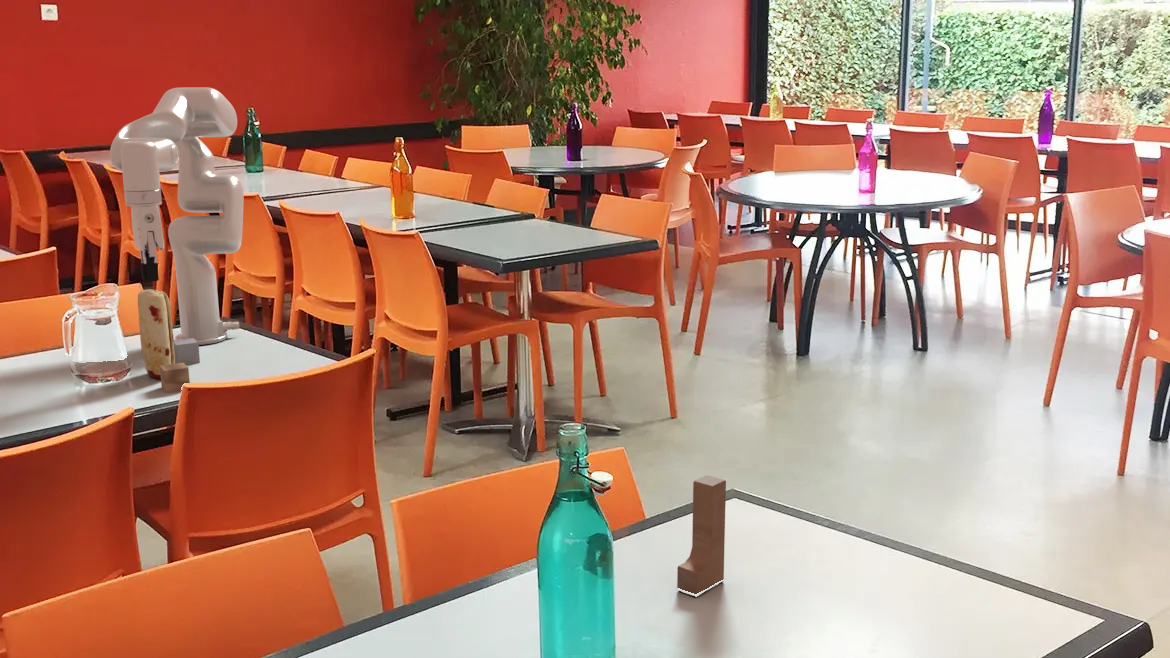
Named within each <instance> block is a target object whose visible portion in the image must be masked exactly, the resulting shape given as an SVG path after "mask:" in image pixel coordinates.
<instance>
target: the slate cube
mask: <svg viewBox="0 0 1170 658" xmlns="http://www.w3.org/2000/svg"><path fill="white" fill-rule="evenodd" d="M199 347H200V345H198V342H197V341H196V340H195V339H194V338H190V339H182V340H175V339H174V354H175V364H177V363H184V364H185V365H186V366H187V365H193V363H194V364H198V363H199V364H200V363H201V359H200V348H199Z"/></svg>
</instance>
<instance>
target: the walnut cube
mask: <svg viewBox="0 0 1170 658" xmlns="http://www.w3.org/2000/svg"><path fill="white" fill-rule="evenodd" d="M160 375H161V379H160V383H161V388H162V389H163V390H164V392H165V393H166V394H169V393H175V392H181V391H180V390H181V387H182V385H183V384H184V383H190V384H191V381H190V369H189V367H188V366H187V364H186V365H185V364H184V363H177V364H176V363H175V364H169V365H162V366H160Z"/></svg>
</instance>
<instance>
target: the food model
mask: <svg viewBox="0 0 1170 658" xmlns="http://www.w3.org/2000/svg"><path fill="white" fill-rule="evenodd" d="M137 293H138V294H137V308H138V309H137V310H138V322H139V337H140V346H141V354H142V358H143V362H144V367H145V370H146V372H147V374H148V375H149V376H150V377H151V378H153V379H160V380H161V375H160V366H162V365H169V364H176V363H175V354H174V340H175V338H174V329H173V318H172V310H171V302H170V299H169V297H168V295H167V294H168V293H166V292H165V291H163V290H156V289H153V288H152V289H151V288H149V289H144V290H140V291H139V292H137Z"/></svg>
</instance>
